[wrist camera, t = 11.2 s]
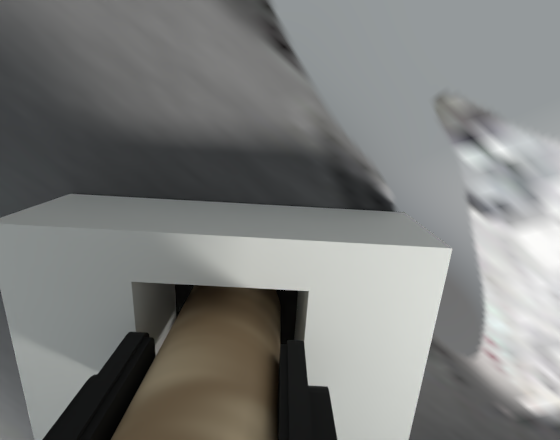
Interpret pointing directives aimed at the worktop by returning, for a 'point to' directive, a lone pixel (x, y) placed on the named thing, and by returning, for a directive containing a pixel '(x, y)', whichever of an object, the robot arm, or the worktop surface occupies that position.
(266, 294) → the dowel
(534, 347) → the worktop surface
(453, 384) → the worktop surface
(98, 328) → the block
